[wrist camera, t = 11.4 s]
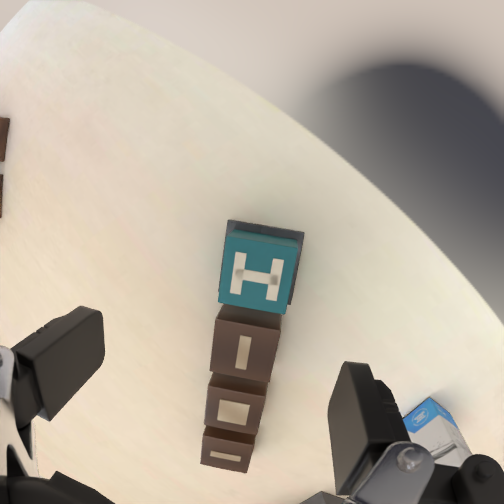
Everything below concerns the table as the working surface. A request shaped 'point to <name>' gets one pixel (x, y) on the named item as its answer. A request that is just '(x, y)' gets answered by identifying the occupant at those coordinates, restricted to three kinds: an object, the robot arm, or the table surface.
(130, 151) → the table surface
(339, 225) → the table surface
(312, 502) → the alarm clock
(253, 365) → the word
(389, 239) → the table surface
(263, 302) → the teal letter h block
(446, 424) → the ink box
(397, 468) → the robot arm
